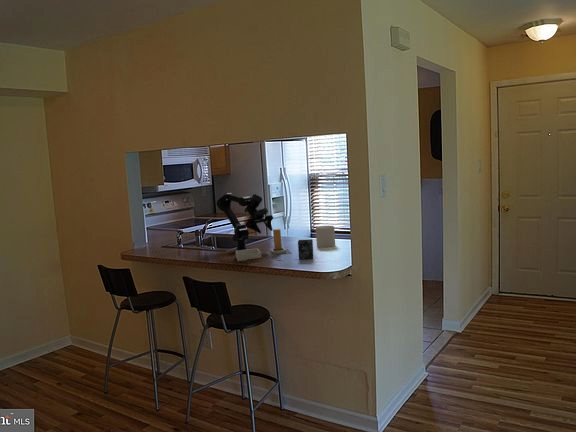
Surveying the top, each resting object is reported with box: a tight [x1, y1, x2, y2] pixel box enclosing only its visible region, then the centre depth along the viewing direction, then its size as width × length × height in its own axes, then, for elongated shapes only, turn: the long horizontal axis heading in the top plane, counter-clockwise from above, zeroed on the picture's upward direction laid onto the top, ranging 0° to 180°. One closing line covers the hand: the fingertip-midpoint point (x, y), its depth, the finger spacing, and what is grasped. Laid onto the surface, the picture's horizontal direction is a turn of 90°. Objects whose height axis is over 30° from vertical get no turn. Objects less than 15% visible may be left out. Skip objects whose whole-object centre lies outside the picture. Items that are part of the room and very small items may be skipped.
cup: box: [315, 225, 336, 248], centre depth 322 cm, size 12×12×12 cm
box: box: [297, 238, 314, 260], centre depth 289 cm, size 8×6×11 cm
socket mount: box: [265, 247, 293, 257], centre depth 306 cm, size 14×14×3 cm
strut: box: [272, 228, 283, 251], centre depth 306 cm, size 4×4×14 cm
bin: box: [235, 248, 262, 263], centre depth 301 cm, size 14×14×4 cm
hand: (266, 231), depth 309 cm, fingers open, 9 cm apart
